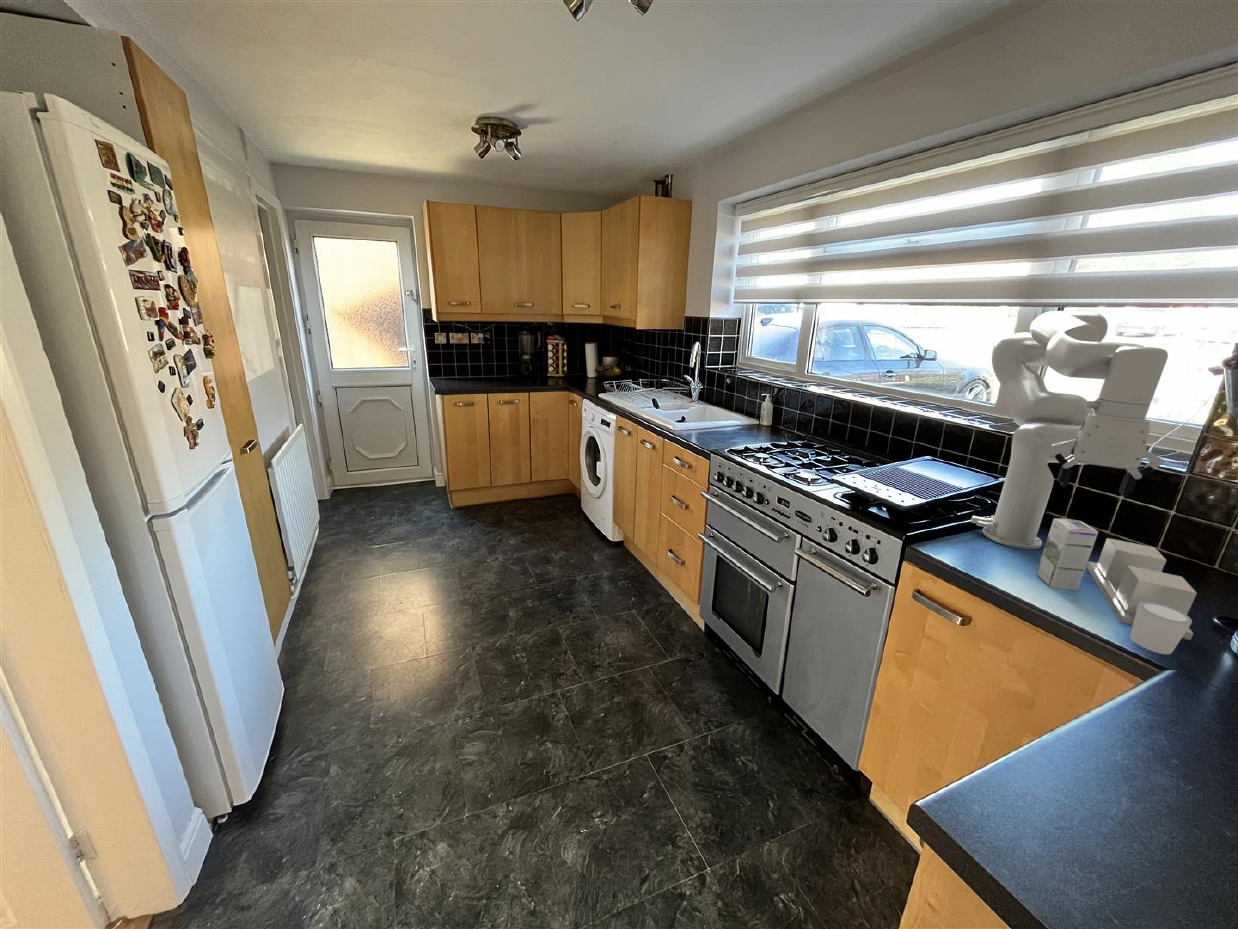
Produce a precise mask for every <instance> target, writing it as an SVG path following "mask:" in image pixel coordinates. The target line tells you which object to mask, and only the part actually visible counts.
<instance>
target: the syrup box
mask: <svg viewBox="0 0 1238 929" xmlns="http://www.w3.org/2000/svg"><path fill="white" fill-rule="evenodd" d="M1098 534H1099V530H1096V529H1095V528H1093V527H1092V526H1090V525H1088V524H1087V523H1085V522H1083V521H1082V520H1076V519H1072V518H1071V519H1070V518H1055V517H1054V518H1053V520H1052V523H1051V526H1050V529H1049V532H1048V535H1047V538H1046V542H1045V544H1044V548H1043V551H1042V554H1041V556H1040V560H1039V562H1038V567H1037V568H1036V572H1035V575H1036V576H1037V577H1038V578H1039V579H1040V580H1042V581H1043V582H1044V583H1045V584H1046V585H1047V587H1050V588H1054V589H1060V590H1068V591H1078V590H1079V589H1080V585H1081V582H1082V579H1083V576H1084V574H1085V571H1086V568H1087V565H1088V562H1089V560H1090V557H1091V555H1092V554H1091V553H1092V551H1093V548H1094V545H1095V543H1096V540H1097V537H1098Z"/></svg>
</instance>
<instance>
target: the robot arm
mask: <svg viewBox="0 0 1238 929" xmlns="http://www.w3.org/2000/svg"><path fill="white" fill-rule="evenodd" d="M1108 327H1109V325H1108V321H1107V318H1106V317H1104V316H1103V315H1102V314H1101V313H1097V312H1093V311H1092V312H1091V311H1090V312H1089V311H1072V310H1071V311H1068V310H1067V311H1066V310H1056V311H1048V312H1044V313H1042V314H1041V315H1039V316H1037V317H1036V318H1035V319H1034V320H1033V321H1032V322H1031V324H1030V327H1029V332H1016V333H1010V334H1006V335H1003V336H1002V337H1000V338H999V339H998V340H996V343H995V344H994V346H993V349H992V353H991V364H992V370H993V372H994V374H995V377H996V379H997V381H999V383H1000V385H1001V387H1002V389H1003V391H1004V394H1005V398H1006V402H1007V406H1008V408H1009V413H1010V416H1011V418H1012V420H1013V422H1014V423H1015V424H1016V425H1018V426H1019V427H1017V428H1016V430H1014V433H1013V435H1012V440H1011V451H1010V452H1011V453H1010V460H1009V463H1008V468H1007V471H1006V475H1005V479H1004V482H1003V486H1002V488H1001V493H1000V497H999V499H998V503H997V506H996V509H995V510H996V511H995V513H994V515H992V514H991V516H990V517H986V518H985V517H981V516H977V515H972V516H971V520H970V523H973V524H976V526H978V527H981V528H982V527H983V529H982V534H983V535H984V536H986V538H988V539H989V540H991V541H994V542H996V543H999V544H1001V545H1004V546H1007V547H1011V548H1016V549H1021V550H1037V549H1040V548H1041V547H1042V544H1043V542H1042V540H1041V539H1040V538H1039V537H1038V536H1037V534H1038V532H1039V530H1040V526H1041V523H1042V520H1043V516H1044V513H1045V511H1046V507H1047V505H1048V501H1049V499H1050V497H1051V496H1050V495H1051V492H1052V489H1053V486H1054V481H1055V480H1054V475H1053V473H1052V471H1051V470H1050V468H1049V465H1048V464H1049V463H1056V464H1057V463H1058V464H1060V465H1061V467H1060V470H1059V473H1058V475H1057V480H1056V481H1058V482H1059V485H1060V486H1061V487H1062V488H1067V487H1068V484H1069V482H1070V479H1071V475H1072V472H1073V469H1072V467H1073V466H1075V465H1083V466H1084V465H1094V466H1100V467H1105V468H1106V467H1107V468H1115V469H1120V470H1126V471H1127V474H1125V475H1124V476H1123V478H1122V480H1121V484H1120V486H1119V488H1118V493H1119V494H1120V495H1121V496H1122V497H1124V498H1128V497H1129V495H1130V494H1132V493H1133V491H1134V489H1135V487H1136V484H1137V482H1138V480H1140V479H1142V477H1145V476H1147V475H1149V474H1151V473H1153V472H1154V471H1155V470H1156V469H1158V468H1159V467H1160V466H1162V465H1163V464H1164V462H1165V461H1164V459H1163V458H1162V457H1159V456H1158V455H1156V454H1154V453H1152V452H1151V451H1149V450H1147V449H1146V448H1147V444H1148V440H1149V435H1150V430H1151V429H1150V427H1151V420H1149V419H1146V418H1147V414H1148V411H1149V410H1150V406H1151V405H1152V404H1151V403H1152V401H1153V398H1154V396H1155V393H1156V390H1157V387H1158V385H1159V382H1160V380H1161V377H1162V374H1163V371H1164V369H1165V367H1166V364H1167V361H1168V357H1169V353H1168V351H1167V350H1166V349H1163V348H1159V347H1153V346H1144V345H1141V344H1136V343H1124V342H1110V341H1109V342H1107V341H1103V340H1104V339H1105V338H1106V337H1105V336H1106V335H1107V332H1108ZM1030 366H1036V367H1037V366H1039V367H1049V368H1050V369H1051V370H1053V371H1055V372H1056V373H1058V374H1059V375H1062V376H1064V377H1068V378H1078V379H1097V380H1104V381H1103V383H1102V387H1101V390H1100V392H1099V396H1098V398H1096V399H1095V400H1087V399H1086V398H1084V397H1082V396H1080V395H1077V394H1072V393H1059V392H1053V391H1049V390H1048V389H1047V387H1046V385H1045V384H1046V383H1045V381H1044V380H1043V378H1042V376H1041V375H1040V374H1039V373H1037V372H1036V371H1035V370H1034V369H1033V368H1030ZM1144 458H1145V459H1147V460H1149V461H1148V463H1147V464H1144V465H1142V466H1141V464H1142V462H1143V459H1144Z"/></svg>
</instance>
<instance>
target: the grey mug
mask: <svg viewBox="0 0 1238 929" xmlns="http://www.w3.org/2000/svg"><path fill="white" fill-rule="evenodd" d="M1192 622H1193V620H1192V619H1191V618H1190V616H1189V615H1188V614H1187V615H1185V614H1184V613H1182V612H1180V611H1178V610H1176V609H1174V608H1171V607H1168V606H1165V605H1162V604H1158V603H1153V602H1139V604H1138V607H1137V611H1136V615H1135V619H1134V622H1133V625H1131V626H1132V627H1131V630H1130V634H1129V639H1130V638H1131V639H1130V641H1131V640H1132V641H1131V642H1133V641H1134V642H1135V643H1136V644H1135V643H1134V642H1133V643H1134V644H1135V645H1137V644H1139V645H1141V646H1142V647H1144V648H1146V649H1145V650H1147V651H1149V650H1151V651H1150V652H1152V651H1153V653H1156V652H1157V654H1160V655H1161V654H1162V655H1171V654H1172V653H1173V652H1174V651H1175V649H1176V648H1177V646H1178V644H1179V643H1180V641H1181V640H1182V639H1183V638H1182V637H1183V635H1184V634H1185V632H1186V631H1187V629H1188V628H1189V629H1190V626H1191V625H1192V624H1193V623H1192ZM1139 645H1138V646H1139ZM1142 647H1141V648H1142ZM1144 648H1143V649H1144Z"/></svg>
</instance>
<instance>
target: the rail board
mask: <svg viewBox="0 0 1238 929" xmlns="http://www.w3.org/2000/svg"><path fill="white" fill-rule="evenodd" d="M1166 563H1167V559H1166V558H1165V557H1164V556H1163V555H1162V554H1161V552H1160V551H1159V549H1157V548H1156V547H1154V546H1150V545H1146V544H1139V543H1134V542H1129V541H1126V540H1125V541H1124V540H1120V539H1114V538H1108V537H1107V538H1106V539H1105V542H1104V545H1103V548H1102V550H1101V552H1100V556H1099V559H1098V561H1097V562H1094V561H1089V560H1088V563H1087V565H1086V568H1087V570H1088V572H1089V574H1090V575H1091V577H1092V579H1093V580H1094V581H1095V582H1094V583H1095V584H1096V585H1097V586H1098V589H1099V590H1100V592H1101V594H1102V595H1103V597H1104V599H1105V601H1106V602H1107V604H1108V605H1109V607H1110V609H1111V610H1112V612H1113V614H1114V615H1115V617H1116V619H1117V620H1118V622H1119V623H1122V624H1126V625H1130V626H1133V622H1134V619H1135V615H1136V611H1137V607H1138V604H1139V602H1153V603H1158V604H1162V605H1165V606H1168V607H1171V608H1174V609H1176V610H1178V611H1180V612H1182V613H1184V614H1185V615H1187V616H1188V613H1189V612H1190V609H1191V607H1192V604H1193V603H1194V601H1195V598H1196V596H1197V591H1196V590H1195V589H1194V588H1193V587H1192V585H1190V584H1189V582H1187V580H1186V579H1185V578H1184V577H1183V576H1180V575H1176V574H1171V573H1167V572H1166V573H1165V572H1163V570H1164V567H1165V564H1166ZM1193 636H1194V632H1193V630H1191V628H1190V627H1189V628H1188V629H1187V631H1186V632H1185V634H1184V635H1183V637H1182V638H1181V639H1183V640H1187V641H1191V640H1192V638H1193Z"/></svg>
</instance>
